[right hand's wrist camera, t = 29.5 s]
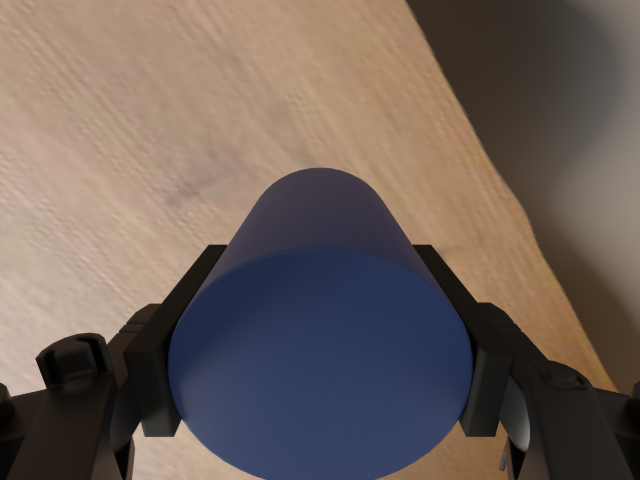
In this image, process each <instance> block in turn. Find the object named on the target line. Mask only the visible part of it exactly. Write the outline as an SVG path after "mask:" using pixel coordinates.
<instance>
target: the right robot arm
mask: <svg viewBox="0 0 640 480" xmlns="http://www.w3.org/2000/svg"><path fill="white" fill-rule="evenodd" d="M413 247H414V248H415V250H416V251H417V253H418V254H419V256H420V257H421V259H422V260H423V262H424V263H425V265H426V266H427V268H428V269H429V271H430V272H431V274H432V275H433V277H434V278H435V280H436V281H437V283H438V284H439V286H440V287H441V289H442V290H443V292H444V293H445V295H446V296H447V298H448V299H449V301H450V302H451V304H452V305H453V307H454V308H455V310H456V312H457V313H458V315H459V317H460V318H461V320H462V322H463V323H464V326H465V329H466V331H467V334H468V336H469V339H470V344H471V348H472V353H473V379H472V386H471V391H470V394H469V397H468V400H467V403H466V405H465V408H464V410H463V412H462V414H461V416H460V418H459V419H458V420H459V422H460V424H461V427H462V429H463V431H464V433H465V436H466V437H495V435H496V431H497V427H498V424H499V420H500V421H501V423H502V425H503V427H504V428H505V430H506V432H507V434H508V437H507V441H506V444H505V448H504V451H503V455H502V458H501V462H500V468H499V470H501V471H504V470H505V466H506V463H507V472H508V480H640V381H639V382H638V383H636V384H634V386H633V388H632V391H631V393H630V395H624V394H620V393H616V392H611V391H607V390H602V389H598V388H594V387H593V386H592V385H591V383H590V382H589V380H588V379H587V378H586V377H584V376H583V375H582V374H581V373H579V372H578V371H576V370H574V369H572V368H571V367H569V366H567V365H564V364H561V363H558V362H555V361H550V360H548V359H547V358H546V357H545V356H544V355H543V354H542V353H541V351H540V350H539V349H538V348H537V347H536V346H535V345H534V344H533V343H532V341H531V340H530V339H529V338H528V337H527V336H526V335H525V334H524V333H523V332H521V329H520V328H519V327H518V326H517V325H516V324H515V323H513V320H512V319H511V318H510V317H509V316H508V315H507V314H506V313H505V312H504V311H503V310H501V309H500V308H498V307H497V306H495V305H493V304H492V303H477V301H476V300H475V299H474V298H473V296H472V295H471V294H470V293H469V292H468V290H467V289H466V288H465V287H464V285H463V284H462V283H461V282H460V280H459V279H458V278H457V277H456V275H455V274H454V273H453V272H452V270H451V269H450V268H449V267H448V265H447V264H446V263H445V262H444V260H443V259H442V258H441V257H440V255H439V254H438V253H437V252H436V250H435V249H434V248H433V247H432V245H413ZM226 248H227V245H208V246H207V248H206V249H205V250H204V251H203V253H202V254H201V255H200V256H199V258H198V259H197V260H196V261H195V263H194V264H193V265H192V266H191V268H190V269H189V270H188V271H187V273H186V274H185V275H184V276H183V278H182V279H181V280H180V281H179V283H178V284H177V285H176V286H175V287H174V289H173V290H172V291H171V292H170V294H169V295H168V296H167V297H166V299H165V300H164V301H163V302H162V304H148V305H147V306H145V307H144V308H142V309H140V310H139V311H137V312H136V313H135V314H134V315H133V316H132V317H131V318H130V319H129V320H128V322H127V324H126V325H124V326H123V327H122V328H121V329H120V331H119V333H117V334H116V335H115V336H114V337H113V338H112V339H111V341H110V342H109V343H108V344H107V345H106V342H105V338H104V337H103V336H101V335H100V334H96V333H82V334H76V335H73V336H69V337H66V338H63V339H61V340H59V341H57V342H55V343H53V344H51V345H50V346H48V347H47V348H45V349H44V350H42V351H41V353H40V354H39V355H38V356H37V357H36V358H35V359H36V362H37V364H38V367H39V370H40V372H41V375H42V377H43V380H44V383H45V385H46V389H44V390H40V391H36V392H31V393H27V394H22V395H18V396H13V397H11V396H10V394H9V391H8V389H7V387H6V386H5V385H3V384H2V383H0V480H132V474H133V464H134V454H135V446H134V441H133V437H132V435H133V433H134V432H135V430H136V428H137V426H138V424H139V423H140V421H141V424H142V428H143V432H144V436H145V437H174V435H175V433H176V431H177V428H178V426H179V424H180V422H181V419H182V418H181V417H180V415H179V413H178V410H177V408H176V406H175V404H174V402H173V398H172V395H171V392H170V388H169V382H168V373H167V365H168V351H169V347H170V343H171V338H172V335H173V333H174V330H175V328H176V326H177V323H178V321H179V319H180V318H181V316H182V314H183V313H184V311H185V310H186V308H187V306H188V305H189V303H190V302H191V300H192V299H193V297H194V296H195V294H196V293H197V291H198V290H199V288H200V287H201V285H202V284H203V282H204V281H205V279H206V278H207V276H208V275H209V273H210V272H211V270H212V269H213V267H214V266H215V264H216V263H217V261H218V260H219V258H220V257H221V255H222V254H223V252H224V251H225V249H226Z"/></svg>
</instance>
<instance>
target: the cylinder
mask: <svg viewBox="0 0 640 480" xmlns="http://www.w3.org/2000/svg"><path fill="white" fill-rule="evenodd" d="M167 373H168V382H169V388H170V392H171V395H172V398H173V402H174V404H175V406H176V408H177V410H178V413H179V415H180V417H181V418H182V420H183V421H184V423H185V424H186V426H187V427H188V429H189V430H190V431H191V432H192V433H193V435H194V436H195V437H196V438H197V439H198V440H199V441H200V442H201V443H202V444H203V445H204V446H205V447H206V448H207V449H209V450H210V451H211V452H212V453H214V454H215V455H216V456H218V457H219V458H221V459H222V460H223V461H225V462H227V463H229V464H230V465H232V466H234V467H236V468H237V469H240V470H242V471H244V472H246V473H249V474H251V475H253V476H256V477H259V478H262V479H266V480H375V479H378V478H381V477H384V476H387V475H389V474H392V473H394V472H396V471H399V470H401V469H403V468H405V467H407V466H408V465H410V464H412V463H414V462H416V461H417V460H418V459H420V458H421V457H423V456H424V455H426V454H427V453H428V452H430V451H431V450H432V449H433V448H434V447H435V446H436V445H438V444H439V443H440V442H441V441H442V440H443V439H444V437H445V436H446V435H447V434H448V433H449V432H450V431H451V430H452V428H453V427H454V425H455V424H456V422H457V421H458V419H459V418H460V416H461V414H462V412H463V410H464V408H465V405H466V403H467V400H468V397H469V394H470V391H471V386H472V379H473V353H472V348H471V344H470V339H469V336H468V334H467V331H466V329H465V326H464V323H463V322H462V320H461V318H460V317H459V315H458V313H457V312H456V310H455V308H454V307H453V305H452V304H451V302H450V301H449V299H448V298H447V296H446V295H445V293H444V292H443V290H442V289H441V287H440V286H439V284H438V283H437V281H436V280H435V278H434V277H433V275H432V274H431V272H430V271H429V269H428V268H427V266H426V265H425V263H424V262H423V260H422V259H421V257H420V256H419V254H418V253H417V251H416V250H415V248H414V247H413V245H412V244H411V242H410V241H409V239H408V238H407V236H406V235H405V233H404V232H403V230H402V229H401V227H400V226H399V224H398V223H397V221H396V220H395V219H394V217H393V216H392V214H391V213H390V211H389V210H388V208H387V207H386V205H385V204H384V202H383V201H382V199H381V198H380V196H379V195H378V194H377V193H376V192H375V190H373V189H372V188H371V187H370V186H369V185H368V184H367V183H365V182H364V181H362V180H361V179H359V178H358V177H356V176H354V175H352V174H349V173H346V172H344V171H341V170H336V169H331V168H309V169H304V170H300V171H297V172H294V173H291V174H289V175H287V176H285V177H283V178H281V179H279V180H278V181H276V182H275V183H273V184H272V185H271V186H270V187H269V188H268V189H267V190H266V191H265V192H264V193H263V194H262V195H261V197H260V198H259V199H258V201H257V202H256V204H255V205H254V207H253V208H252V210H251V212H250V213H249V215H248V216H247V218H246V219H245V221H244V222H243V224H242V225H241V227H240V228H239V230H238V231H237V233H236V234H235V236H234V237H233V239H232V240H231V242H230V243H229V245H228V246H227V248H226V249H225V251H224V252H223V254H222V255H221V257H220V258H219V260H218V261H217V263H216V264H215V266H214V267H213V269H212V270H211V272H210V273H209V275H208V276H207V278H206V279H205V281H204V282H203V284H202V285H201V287H200V288H199V290H198V291H197V293H196V294H195V296H194V297H193V299H192V300H191V302H190V303H189V305H188V306H187V308H186V310H185V311H184V313H183V314H182V316H181V318H180V319H179V321H178V323H177V326H176V328H175V330H174V333H173V335H172V338H171V343H170V347H169V351H168V365H167Z"/></svg>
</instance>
